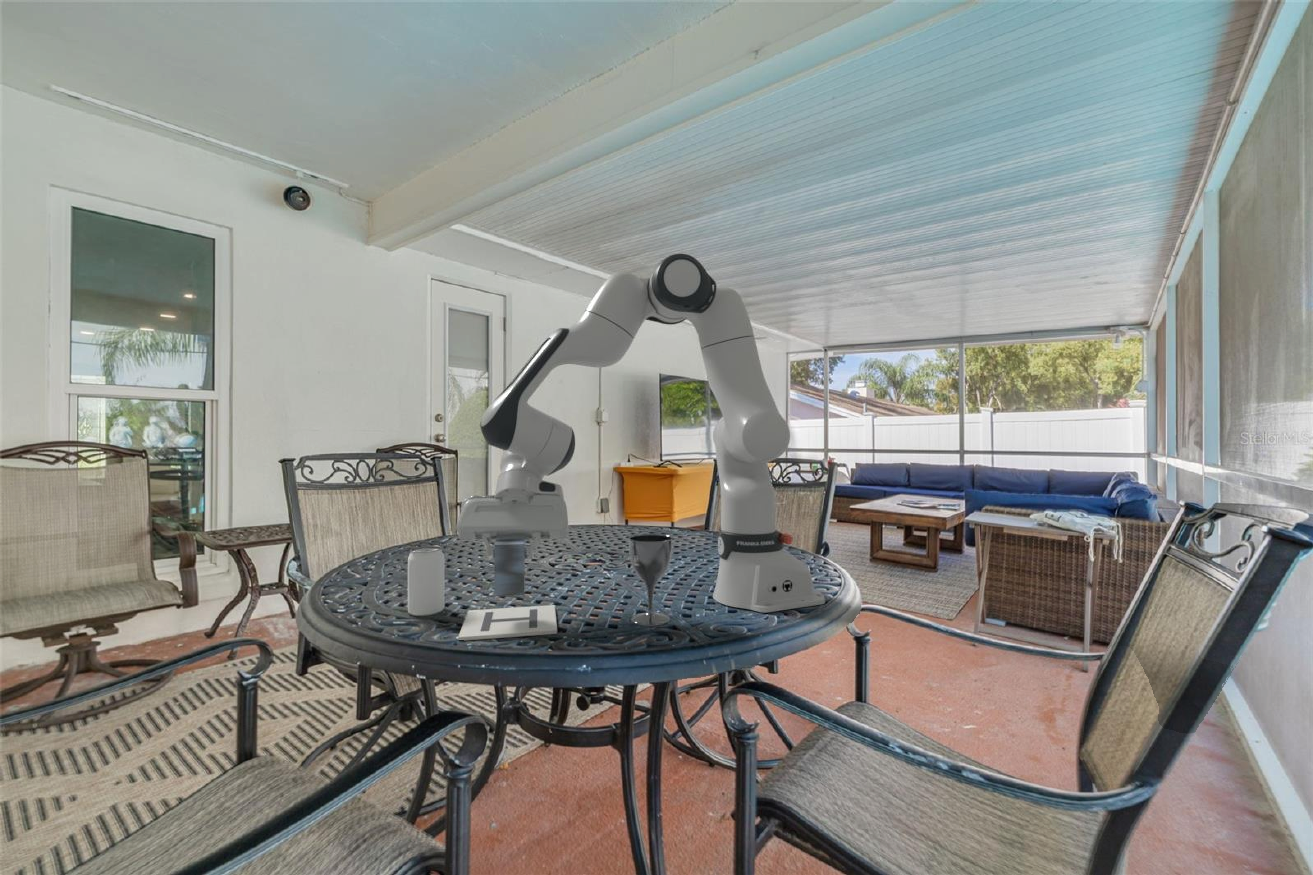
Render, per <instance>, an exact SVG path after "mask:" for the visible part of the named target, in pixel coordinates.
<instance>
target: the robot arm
mask: <svg viewBox="0 0 1313 875" xmlns="http://www.w3.org/2000/svg"><path fill="white" fill-rule="evenodd" d="M686 320H688V321H689V322H690V323H691V324H692V326H693V327H694V329H695V331H696V334H697V335H698V341H699V346H700V352H701V356H702V360H703V364H704V369H705V374H706V377H707V378H706V379H707V382H708V387H709V388H710V390H711V391H712V394H713V396H714V398H715V400H716V402H717V406H718V407H719V410H720V413H721V415H722V416H721V418H719V420H718V421H717V422H716V424H715V426H714V428H713V432H712V439H713V443H714V447H715V456H716V465H717V472H718V473H717V474H718V479H719V485H720V529H719V530H718V539H717V542H718V543H717V547H718V548H717V550H718V557H719V563H718V571H717V572H718V573H717V578H716V583H715V587H714V591H713V593H712V598H713V600H714V601H716V602H718V603H719V604H721V605H722V604H723V605H725V606H728V607H733V608H739V609H745V610H746V609H747V610H751V611H755V612H758V613H773V612H779V611H786V610H791V609H792V610H793V609H799V608H806V607H812V606H818V605H824V604H825V603H826V599H825V595H824V594H823V592H821V591H819V590H818V589H816V588H815V587H814V582H813V576H812V574H811V571H810V569H809V568H808V567H807V566H806V565H805V564H803V562H802V561H800V560H799V559H798V558H796V556H794V555H793V554H791V553H790V552H789V551H788V550H787V549H786V548H784V545H789V546H790V545H792V543H793V542H794V539H793V538H794V537H793V536H792V535H791V534H789V533H782V532H780V531H779V530H777V529H776V490H775V488H774V486H773V483H772V482H773V481H772V479H771V475H770V470H769V465H768V464H769V462H772V461H774V460H776V459H778V458H780V457H781V456H782V455H783V454H784V453H785V452H786V451H787V449H788V448H789V444H790V442H791V441H790V440H791V431H790V428H789V425H788V423H787V421H786V420H785V418H784V417H783V416H782V415H781V414H780V411H779V410H778V408H777V405H776V402H775V399H774V398H773V395H772V393H771V391H770V388H769V386H768V384H767V382H766V379H765V375H764V372H763V369H762V364H761V360H760V357H759V351H758V347H757V344H756V339H755V334H754V329H753V326H752V323H751V320H750V316H749V313H748V311H747V308H746V306H745V303H744V301H743V299H742V296H741V294H739V292H738V291H736V289H733V288H728V287H717V283H716V281H715V279H714V278H712V276H711V275H710V274H709V273H708V272H707V270H706V269H705V268H704V265H702V263H701V262H700V261H699V260H697V259H696V258H695V257H694V256H692V255H689V254H686V253H673V254H671V255H669V256H667V257H665V258H663V259H662V260H661V261H660V262H659V263H658V264H656V267H655V268H654V269H653V272H652V274H651V275H650V276H649V277H647V278H646V277H645V278H643V277H638V276H637V275H635V274H633V273H630V272H627V271H617V272H614V273H612V274H611V275H609V277H607V279H606V280H605V281H604V282H603V283H602V284H601V286H600V287H599V289H597V291H596V293H595V294H594V295H593V297H592V298H591V300H590V302H589V303H588V305H587V307H586V308H585V310H584V312H583V313H582V315H581V317H580V318H579V319H578V320H577V321H576V322H575V323H573V324H572V325H570V326H569V327H566V328H565V327H560V328H558V329H556V330H555V331H553V332H552V333H551V334H550V335H549V336H548V337H547V338H546V339H545V340H544V341H543V343H542V344H540V346H539V347H538V348H537V349H536V351H535V352H534V353H533V354H532V356H531V357H530V358H529V359H528V360H527V362H526V363H525V364H524V365H523V366H522V368H521V369H520V371H519V372H518V373H517V374H516V375H515V377H514V378H513V379H512V380H511V382H510V383H509V384H508V385H507V387H506V388H504V390H503V391H502V392H501V393H500V394H499V395H498V396H497V397H496V398H495V399H494V400H493V402H492V403H490V405H489V406H488V407H487V408H486V410H485V411H484V413H483V415H482V418H481V420H480V422H479V427H480V430H481V431H480V432H481V433H482V436H483V438H484V440H485V441H486V443H487V445H489V446H492V447H494V448H497V449H499V450H502V455H501V459H500V465H499V466H500V467H499V468H500V473H499V475H498V476H497V477H498V478H497V481H496V486H495V491H494V495H490V494H489V495H475V494H474V495H471V496H470V497H467V498H465V499H464V500H462V503H461V505H460V514H459V516H458V519H457V523H456V526H455V529H456V533H457V536H458V537H459V539H461V541H482V543H483V546H484V548H485V559H486V560H494V548H495V545H492V544H493V543H492V541H496V540H498V539H525V541H529V540H530V541H531V540H532V542H531V543H530V544H529V545H525V551H524V556H525V560H526V559H530V560H531V559H534V555H535V552H536V550H537V549H538V548H539V546H540V545H541V544H542V540H565V539H566V538H567V537H568V536H569V517H568V508H567V504H566V503H567V502H566V501H565V496H564V491H563V487H562V485H560V484H558V483H554V482H550V481H548V480H547V481H546V480H543V479H544V477H545V476H546V477H548V476H551V475H553V474H555V473H557V472H558V471H560V470H562V469H564V468H565V467H566V466H567V465H568V464H569V463H570V462H571V461H572V458H573V456H574V454H575V448H576V437H575V436H576V435H575V432H574V430H573V427H572V426H570V425H568V424H566V423H565V422H563V421H561V420H560V419H557V418H556V417H553V416H551V415H549V414H547V413H545V412H543V411H541V410H539V409H537V408H535V407H534V406H531V405H530V404H529V403H528V401H529V399H530V398H531V397H532V396H533V394H534V393H535V392H536V391H537V389H538V388H539V387H540V386H541V384H542V383H543V382H544V381H545V380H546V378H547V377H548V376H549V375H550V373H551V372H552V371H553V370H554V369H556V368H557V367H560V366H563V365H577V366H584V367H591V368H607V367H611V366H613V365H614V364H617V363H618V362H620V361H621V360H622V358H624V356H625V354H626V353H627V352H628V350H629V348H630V347H631V345H632V343H633V342H634V339H635V337H636V336H637V334H638V332H639V329H640V328H641V327H642V325H643V324H644V322H645V321H650V322H655V323H659V324H662V325H663V324H664V325H669V326H670V325H677V324H678V325H679V324H680V323H682V322H685V321H686Z"/></svg>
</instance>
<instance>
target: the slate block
mask: <svg viewBox="0 0 1313 875" xmlns="http://www.w3.org/2000/svg"><path fill="white" fill-rule="evenodd" d="M525 542H526V540H525V539H498V540H495V543H494V546H495V548H494V559H493V560H494V562H493V563H494V569H493V570H494V571H493V572H494V575H493V576H494V577H493V578H494V579H493V580H494V582H493V583H494V584H493V586H494V591H493V594H494V597H514V596H524V595H525V585H526V583H525V573H526V572H525V568H526V567H525V564H526V562H525V560H526V559H525V556H524V551H525V546H526V544H525Z"/></svg>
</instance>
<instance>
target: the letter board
mask: <svg viewBox="0 0 1313 875" xmlns="http://www.w3.org/2000/svg"><path fill="white" fill-rule="evenodd" d="M556 615H557V614H556V605H555V604H550V605H547V604H546V605H534V606H532V605H531V606H517V607H515V606H514V607H503V608H487V609H485V608H484V609H472V610H471V609H470V610H467V613H466V616H465V618H464V620H463V623H462V626H461V629H460V632H459V634H458V637H457V641H458V640H464V641H476V640H487V639H488V640H489V639H500V638H501V639H504V638H514V637H515V638H516V637H527V636H528V637H529V636H543V635H556V634H558V625H557V616H556Z"/></svg>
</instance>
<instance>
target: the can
mask: <svg viewBox="0 0 1313 875" xmlns="http://www.w3.org/2000/svg"><path fill="white" fill-rule="evenodd" d="M442 549H443V547H442V546H439V545H422V546H416V547H413V548H410V552H409V555H408V557H407V612H408V614H409V615H410V616H412V617H429V616H434V615H439V614H440V613H441V612H442V611H443V610H444V609H445V594H446V593H445V554H444V552H443V550H442Z"/></svg>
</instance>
